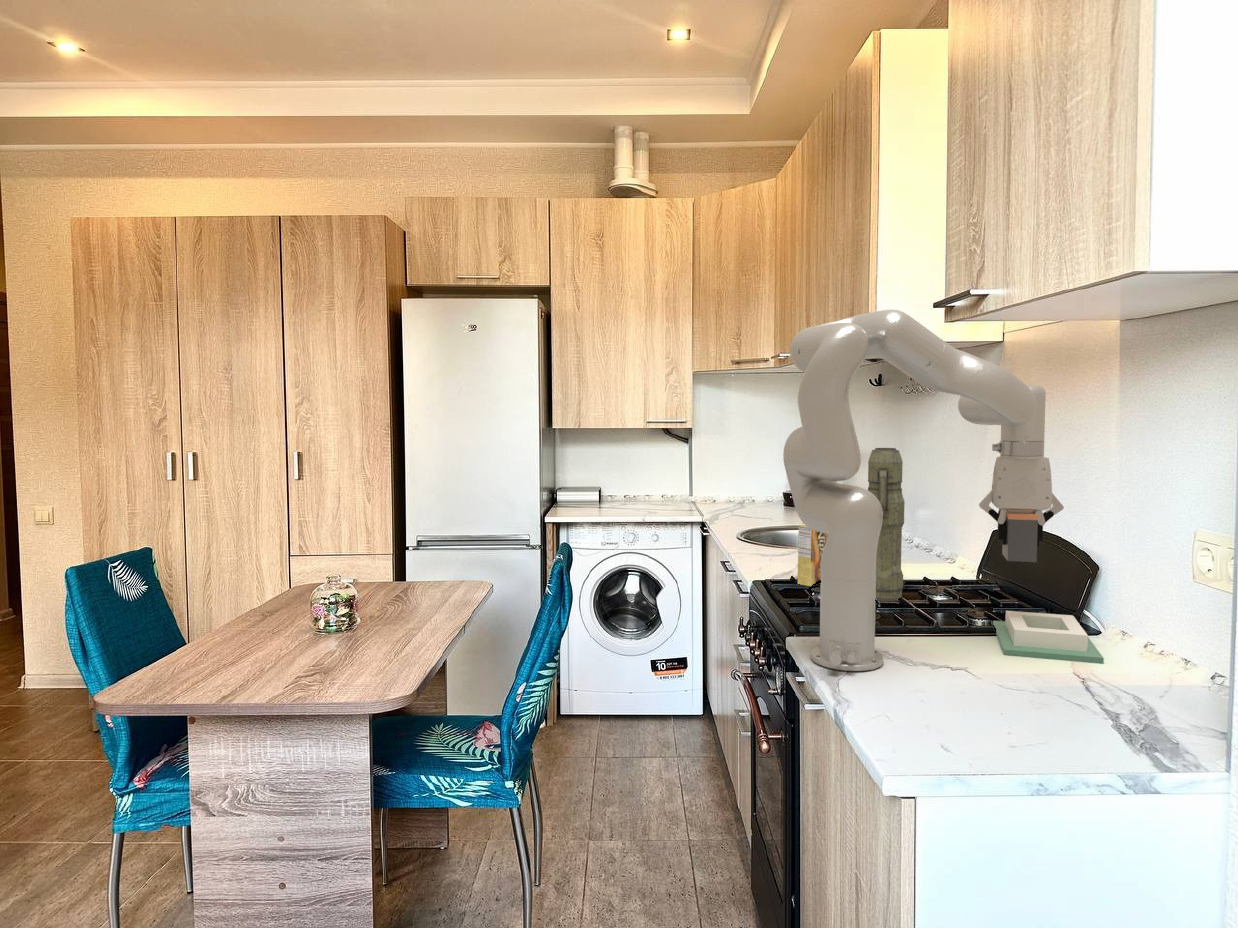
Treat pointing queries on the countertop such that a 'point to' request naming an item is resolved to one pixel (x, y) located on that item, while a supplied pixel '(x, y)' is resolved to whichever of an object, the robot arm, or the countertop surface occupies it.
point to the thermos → (888, 520)
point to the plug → (1021, 536)
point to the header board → (1043, 651)
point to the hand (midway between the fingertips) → (1019, 543)
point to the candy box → (810, 554)
